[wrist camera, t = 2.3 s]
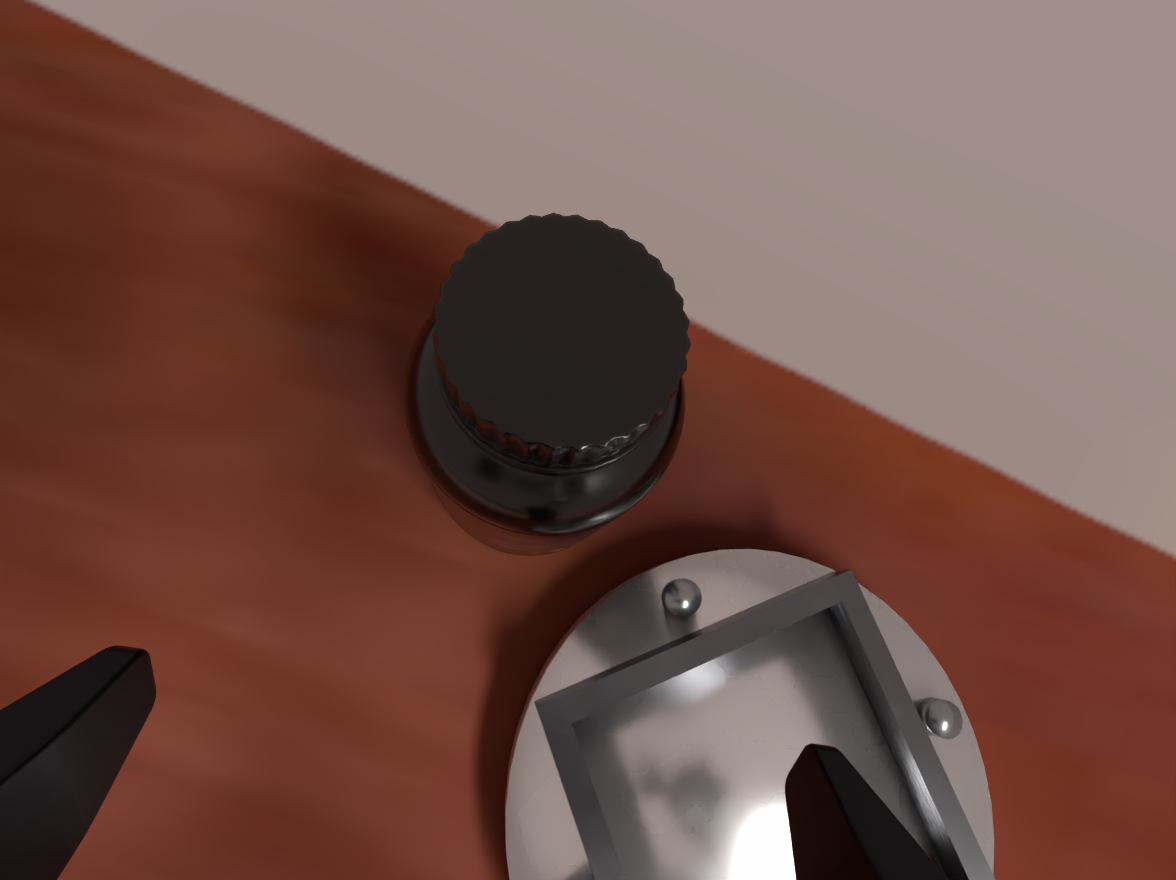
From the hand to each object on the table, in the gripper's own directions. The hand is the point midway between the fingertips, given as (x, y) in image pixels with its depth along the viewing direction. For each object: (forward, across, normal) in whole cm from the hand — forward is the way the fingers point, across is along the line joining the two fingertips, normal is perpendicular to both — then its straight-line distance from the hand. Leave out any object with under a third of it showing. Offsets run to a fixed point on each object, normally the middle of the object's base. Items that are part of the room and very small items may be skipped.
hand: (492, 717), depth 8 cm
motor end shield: (+7, -9, +11) cm, 16 cm away
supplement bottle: (+14, 0, +5) cm, 15 cm away
